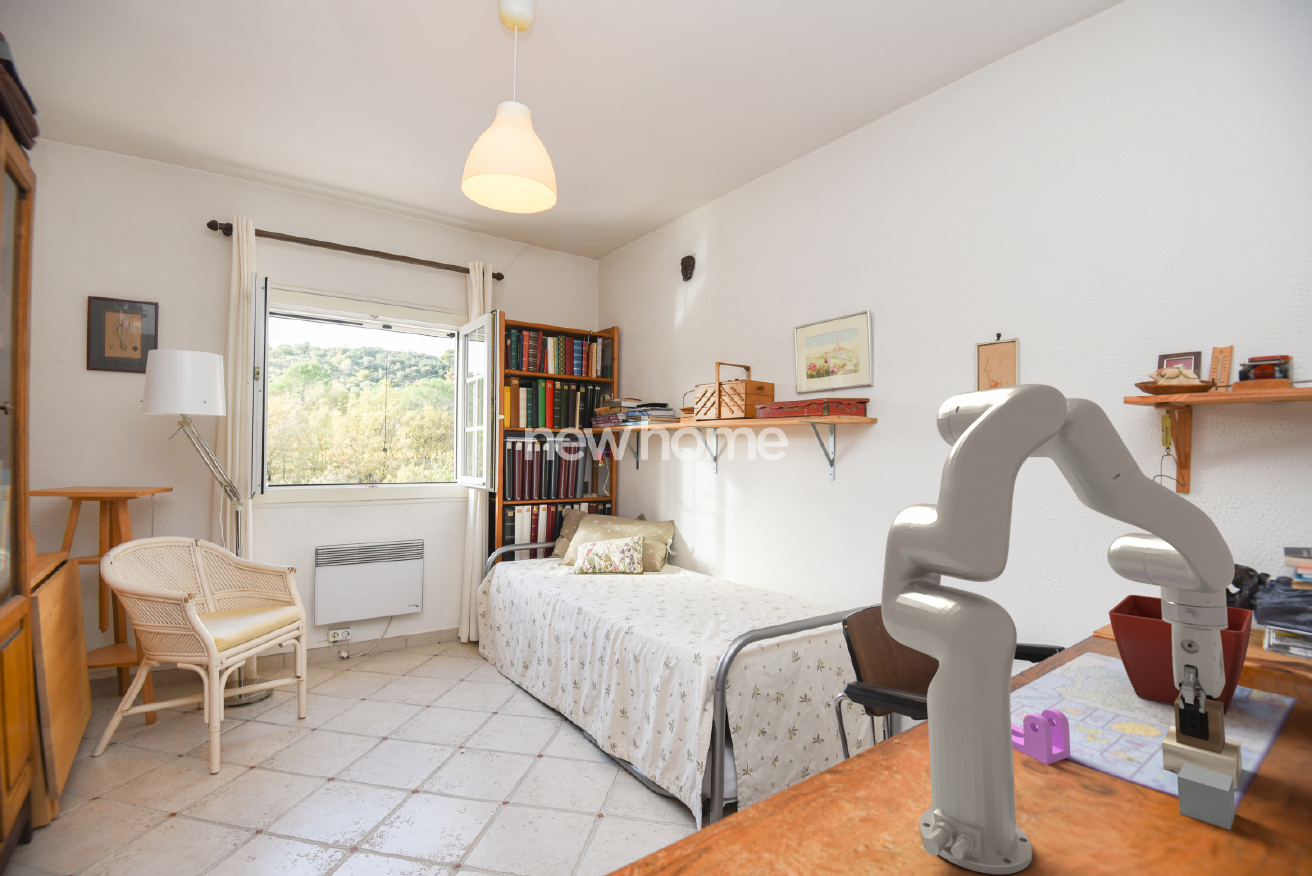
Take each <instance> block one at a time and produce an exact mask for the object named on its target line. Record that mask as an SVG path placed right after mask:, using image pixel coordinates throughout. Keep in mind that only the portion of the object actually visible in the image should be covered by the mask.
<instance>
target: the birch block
mask: <svg viewBox="0 0 1312 876" xmlns="http://www.w3.org/2000/svg"><path fill="white" fill-rule="evenodd" d="M1170 725H1171V726H1170V727H1169V729H1168V731H1167V733H1166V734H1165V736H1164V738H1163V740H1162V741H1161V745H1162V746H1161V748H1162V763H1163V765H1162V766H1163V769H1164V770H1166V769H1167V770H1166V771H1170V770H1173V771H1175V772H1174V773H1177V774H1179V772H1180V770H1181V768H1182V766H1183V764H1184V763H1186V764H1190V765H1194V766H1197V767H1201V768H1204V769H1208V770H1211V771H1215V772H1218V773H1222V774H1225V775H1229V776H1233V781H1234V790H1237V788H1238V785H1239V781H1240V778H1241V777H1240V776H1241V773H1242V771H1243V763H1242V762H1243V761H1242V745H1241V741H1238V740H1233V739H1229V738H1227V737H1225V745H1224V748H1223V750H1222V753H1221V754H1219V753H1215V752H1211V751H1208V750H1204V749H1200V748H1196V747H1192V746H1188V745H1184V744H1181V743H1177V742H1176V726H1175V725H1172V724H1170ZM1173 771H1172V772H1173ZM1239 777H1240V778H1239ZM1238 780H1239V781H1238ZM1237 784H1238V785H1237Z"/></svg>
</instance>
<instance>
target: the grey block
mask: <svg viewBox="0 0 1312 876" xmlns="http://www.w3.org/2000/svg"><path fill="white" fill-rule="evenodd" d="M1176 776H1177V779H1176V780H1177V794H1178V798H1177V799H1178V811H1179V812H1178V813H1179V814H1180V815H1183V816H1185V817H1190V818H1193V819H1196V820H1198V821H1201V822H1205V823H1207V824H1211V825H1214V826H1217V827H1219V828H1221V829H1222V828H1223V829H1225V830H1229V831H1231V830H1232V826H1233V824H1234V819H1235V816H1236V805H1235V804H1236V802H1235V789H1234V781H1233V776H1229V775H1225V774H1222V773H1218V772H1215V771H1211V770H1208V769H1204V768H1201V767H1197V766H1194V765H1190V764H1186V763H1184V764H1183V766H1182V768H1181V770H1180V772H1179V773H1177V775H1176Z"/></svg>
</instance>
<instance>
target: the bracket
mask: <svg viewBox="0 0 1312 876" xmlns="http://www.w3.org/2000/svg"><path fill="white" fill-rule="evenodd" d="M1068 720H1069V719H1068V718H1067V716H1066V715H1065V714H1064V713H1063V712H1062V711H1061V710H1059V709H1057V708H1049V709H1045V710H1043V711H1042V712H1041V713H1040V714H1039V713H1030V714H1028V715H1026V716H1025V717H1024V718H1023V721H1022V725H1023V727H1021V726H1019V725H1017V724H1014V723H1012V722H1011V730H1012V749H1013V750H1015V751H1018V752H1020V753H1022V754H1024V755H1026V756H1029V758H1032V759H1034V760H1037V761H1038V762H1041V763H1043V764H1046V765H1051V764H1053V763H1056V762H1059V761H1062V760H1064V759H1067V758H1070V757H1071V738H1070V724H1069V721H1068Z"/></svg>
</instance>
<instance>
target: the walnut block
mask: <svg viewBox="0 0 1312 876" xmlns="http://www.w3.org/2000/svg"><path fill="white" fill-rule="evenodd" d="M1198 699H1199V700H1200V697H1198ZM1179 701H1180V694H1179V695H1178V697H1177V699H1176V701H1175V702H1174V705H1173V706H1174V722H1175V723H1174V724H1175V725H1174V726H1176V742H1177V743H1181V744H1184V745H1188V746H1192V747H1196V748H1200V749H1204V750H1208V751H1211V752H1215V753H1219V754H1221V753H1222V750H1223V748H1224V745H1225V738H1226V731H1225V730H1226V729H1225V715H1224V710H1223V702H1219V701H1214V700H1209V699H1206V706H1205V712H1208V721H1209V740H1202V739H1198V738H1194V737H1190V736H1186V735H1183V734H1181V733H1180V725H1179ZM1199 704H1200V702H1199Z"/></svg>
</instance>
